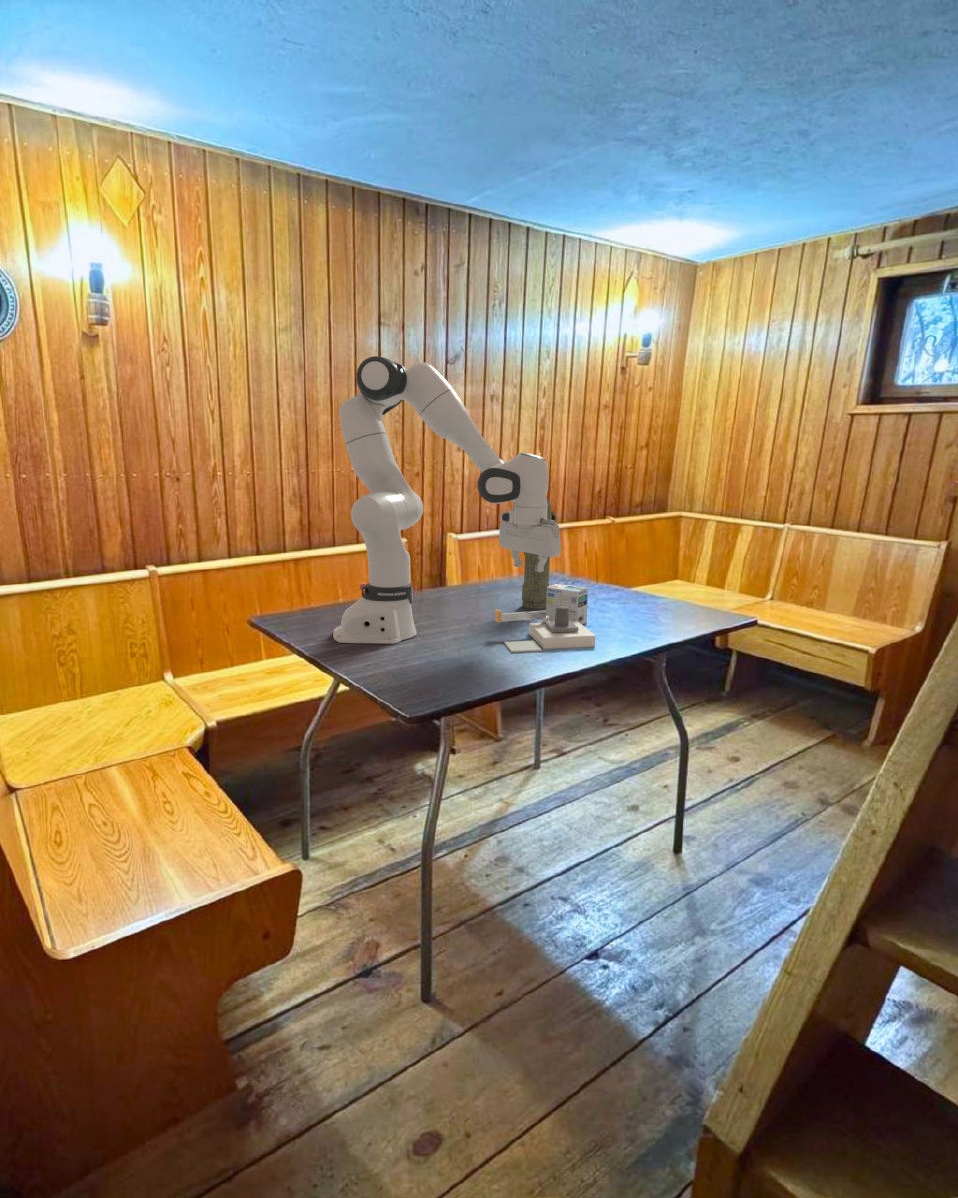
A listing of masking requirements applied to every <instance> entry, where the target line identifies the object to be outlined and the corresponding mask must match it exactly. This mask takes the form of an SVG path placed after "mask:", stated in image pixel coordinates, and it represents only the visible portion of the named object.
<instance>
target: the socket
mask: <svg viewBox="0 0 958 1198" xmlns="http://www.w3.org/2000/svg"><path fill="white" fill-rule="evenodd" d="M572 623H573V624H575V625H576V626H577V627H578V631H575V632H552V631H551V630H550V629H549V628H548V627H547V626H546V624H542V623H541V622H530V623H529V630H528V632H529V633H528V634H529V636H531V637H532V638H533V640H534V641H535V642H536V643H537V645H538V646H539V647H540V648H541V649H542V650H550V649H551V650H552V649H553V650H554V649H572V648H590V647H591V648H594V647H595V646H596V634H594V633H593V632H592V631H590V630H589V629H588V628H586V627H585V626H584V624H583V625H582V624H580V623H579V622H578V621H577V622H572Z"/></svg>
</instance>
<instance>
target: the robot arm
mask: <svg viewBox="0 0 958 1198" xmlns="http://www.w3.org/2000/svg"><path fill="white" fill-rule="evenodd" d="M355 374H356V384H357V387H358V390H359V392H358V394H357V395H355V396H353V397H350V398H347V399H346V400H345V401H344V402H342V403H341V405H340V406H339V407H340V408H339V421H340V428H341V432H342V437H343V440H344V443H345V448H346V450H347V453H348V457H349V460H350V463H351V467H352V469H353V472H354V475H355V476H356V477H357V478H358V479H359V480H361V481H362V482H363V484H364V485H365V486H366V488H367V489H368V491H369V492H368V493H367V494H364V495H363V496H361V497H360V498H358V499H357V500H355V502H353V504H352V507H351V510H350V517H351V522H352V525H353V526H354V528H355V529H356V530H357V531H358V532H359V533H360V534H361V537H362V539H363V542H364V544H365V545H364V546H365V549H366V553H367V561H368V562H367V563H368V583H366V582H360V584H359V590H360V591H361V598H360V599H358V600H357V601H356V602H354V603H353V604H351V605H350V606H349V607H348V608H346V609H345V611H344V612H343V614H342V617H341V622H340V625H338V626H337V627H335V628H334V630H333V635H332V637H333V640H335V641H336V642H337V643H340V644H343V643H344V644H387V645H388V644H391V645H392V644H398V643H400V642H401V641H404V640H408V639H411V638H413V637H415V636H416V635H417V633H418V632H417V629H416V625H415V622H414V616H413V611H412V604H413V593H414V592H413V584H412V582H411V556H410V553H409V552H408V550H406V548H405V546H404V542H403V540H402V539H403V538H402V534H401V531H403V530H407V529H410V527H411V528H412V526H414V525H415V524H416V523H418V522H419V521H420V520H421V519H422V516H423V514H424V504H423V501H422V499H421V497H420V496H419V495H418V494H417V493H416V492H414V490H413V489H412V488H411V487H410V485H409V484H408V482H407V480H406V479H405V477H404V475H403V473H402V471H401V469H400V468H399V466H398V464H397V461H396V459H395V456H394V452H393V450H392V447H391V444H390V440H389V437H388V433H387V431H386V428H385V427H386V426H385V424H384V420H383V416H385V415H386V414H387V413H388V412H390V411H391V410H393V409H394V408H395V407H397V406H399V404H401V403H402V402H403V401H405V402H407V403H409V404H410V406H411V407H412V408H413V409H414V410H415V412H416V413H417V414H418V416H419V417H420V418H421V419H422V421H423V422H424V423H425V425H426V426H427V427H428V428H429V429H430V430H431V431H432V432H433V433H434V434H436V435H437V436H439V437H440V438H442V439H445V440H447V441H449V442H451V443H453V444H454V445H456V446H458V447H459V448H460V449H461V450H462V451H464V453H465V454H466V455H467V456H468V458H469V459H470V460H471V462H472V463H473V464H474V465H475V466H476V468H477V469H478V470H479V471H480V472H481V473H480V475H479V477H478V479H477V491H478V493H479V495H480V496H481V498H482V499H483V500H484V501H485V502H488V503H491V504H495V505H496V504H497V505H499V504H502V503H505V502H513V509H510V510H508V511H504V512H502V513H500V515H499V519H500V522H501V523H500V525H499V531H498V532H499V533H498V534H499V535H498V536H499V539H498V542H499V546H500V547H501V548H502V549H508V550H510V555H511V556H512V559H513V567H515V568H521V567H522V566H523V560H522V559H521V558H520V554H521V552H523V553H524V552H526V553H531V554H536V555H538V559H540V560H539V563H538V565H535V571H537V572H543V571H544V565H545V563H546V561H547V559H548V557H550V558H556V557H559V556H560V554H561V553H562V552H561V551H562V545H561V544H562V543H561V542H562V541H561V532H560V526H559V525H558V523H557V521H556V522H555V521H554V520H547V508H548V504H547V499H548V498H547V499H546V497H547V494H548V491H549V467H548V466H549V465H548V462H547V461H546V459H545V458H544V457H542V456H540V455H536V454H533V453H527V452H520V453H518V454H516V456H514V457H512V458H511V459H509V460H506V461H504V460H503V459H502V458H501V457H500V456H499V455H498V454H497V452H495V450H494V449H493V448H492V447H491V445H490V443H488V441H487V440H486V439H485V438H484V436H483V435H482V433H481V432H480V431H479V429H478V427H477V426H476V424H475V422H474V421H473V419H472V417H471V416H470V414H469V412H468V410H467V408H466V406H465V404H464V403H463V401H462V399H461V398H460V397H459V395H458V394H457V392H456V391H455V390H454V388H453V387H452V385H451V384H450V383H449V381H447V379H446V378H445V377H444V376H443V375H442V374H441V373H440V372H439V371H438V370H437V369H436V368H435V367H433V366H432V364H430V363H428V362H423V361H422V362H417V363H415V364H413V365H411V366H409V367H408V368H405V367H404V366H403V365H402V364H400V363H398V362H396V361H393V360H391V359H389V358H387V357H385V356H384V357H383V356H380V355H379V356H377V355H374V356H371V357H367V358H365V359H364V360H362V362H361V363H360V364H359V366H358V368H357V371H356V373H355ZM555 524H556V525H555Z"/></svg>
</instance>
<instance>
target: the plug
mask: <svg viewBox="0 0 958 1198" xmlns="http://www.w3.org/2000/svg"><path fill="white" fill-rule="evenodd" d="M546 626H547V627H548V628H549V629H550V630H551V631H552V632H575V631H578V627H577V626H576V625H575V624H573V623H572V622H571V621H569V607H566V606H557V607H556V614H555V621H552V622H546Z"/></svg>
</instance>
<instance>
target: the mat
mask: <svg viewBox="0 0 958 1198" xmlns="http://www.w3.org/2000/svg"><path fill="white" fill-rule="evenodd" d="M503 643H504V645H505V647H506V648H507V649H508V650H509V652H511V654H515V653H517V654H519V653H535V652H536V653H538V652H543V648H542V647H541V646H540V645H539V644H538V643H537V641H536V640H519V641H518V640H517V641H516V640H513V641H504V642H503Z"/></svg>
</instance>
